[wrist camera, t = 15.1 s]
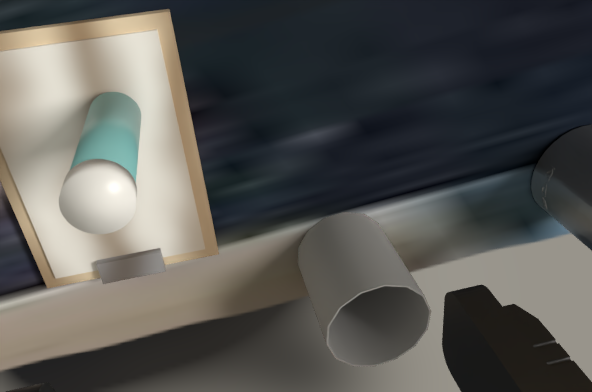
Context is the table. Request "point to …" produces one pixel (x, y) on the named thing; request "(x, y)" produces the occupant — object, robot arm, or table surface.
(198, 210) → the clipboard
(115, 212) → the marker
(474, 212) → the table surface
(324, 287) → the cup
